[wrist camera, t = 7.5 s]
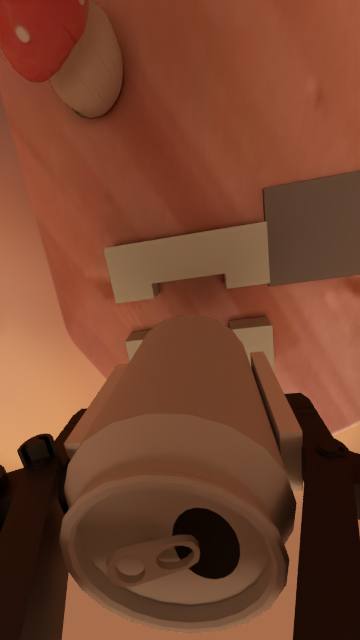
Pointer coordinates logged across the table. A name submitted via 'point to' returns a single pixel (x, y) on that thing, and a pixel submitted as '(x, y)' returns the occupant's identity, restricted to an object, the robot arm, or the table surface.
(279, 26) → the table surface
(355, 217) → the coaster
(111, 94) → the decorative ornament
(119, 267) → the pocket block
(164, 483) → the can
